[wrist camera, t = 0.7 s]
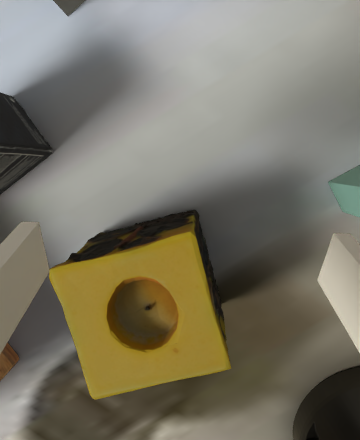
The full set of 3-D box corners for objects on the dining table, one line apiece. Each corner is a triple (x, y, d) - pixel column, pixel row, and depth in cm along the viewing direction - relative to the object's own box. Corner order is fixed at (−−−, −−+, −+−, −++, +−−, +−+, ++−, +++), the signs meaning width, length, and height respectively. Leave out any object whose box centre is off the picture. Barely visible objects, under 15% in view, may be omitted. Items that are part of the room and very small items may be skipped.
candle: (125, 327, 31) (89, 404, 21) (94, 233, 29) (39, 269, 19) (224, 305, 29) (234, 376, 20) (196, 206, 28) (194, 229, 18)
